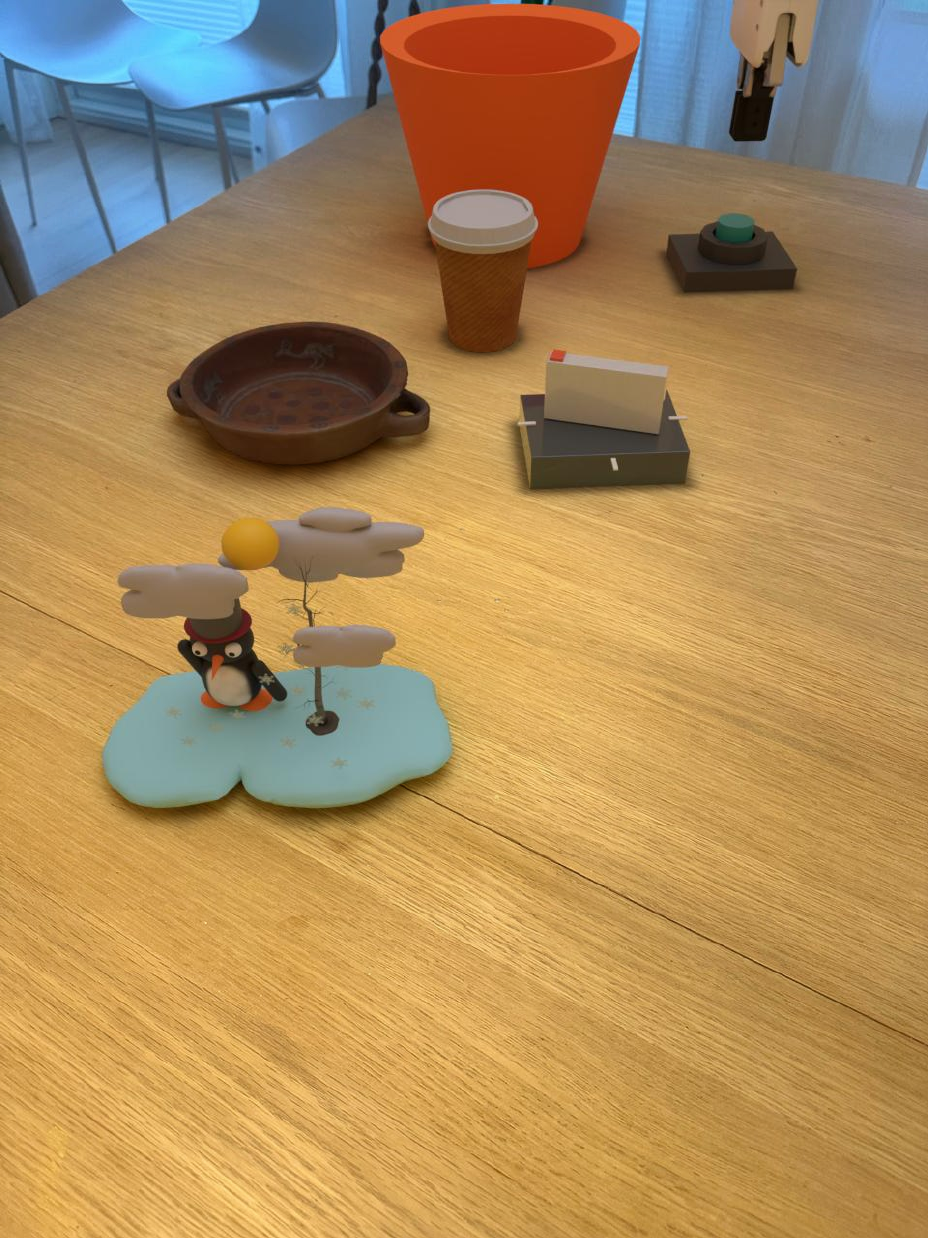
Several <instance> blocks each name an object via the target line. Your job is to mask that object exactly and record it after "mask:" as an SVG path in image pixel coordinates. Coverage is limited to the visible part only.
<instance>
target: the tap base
mask: <svg viewBox="0 0 928 1238" xmlns="http://www.w3.org/2000/svg"><path fill="white" fill-rule="evenodd" d="M544 404H545V393H532V394H531V393H529V394H520V395H519V421H517V427H519V433H520V438H521V445H522V451H523V456H524V462H525V469H526V473H527V474H526V475H527V481H528V485H529V486H528V487H529V489H530V490H549V489H550V490H552V489H578V488H602V487H603V488H604V487H629V486H631V487H632V486H654V485H655V486H657V485H679V484H680V485H682V484H686V480H687V475H688V467H689V462H690V456H691V450H690V447H689V444H688V442H687V438H686V437H685V434H684V431H683V429H682V425H681V423H680V421H687V420H688V418H687V416H686V415H677V412H676V409H675V407H674V403H673V401H672V399H671V396H670V393H669V390H668V389H666V395H665V402H664V410H663V417H662V424H661V428H660V431H659V434H652V433H645V432H638V431H631V430H624V429H617V428H609V427H602V426H595V425H588V424H581V423H574V422H567V421H560V420H553V419H546V418H544Z"/></svg>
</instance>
